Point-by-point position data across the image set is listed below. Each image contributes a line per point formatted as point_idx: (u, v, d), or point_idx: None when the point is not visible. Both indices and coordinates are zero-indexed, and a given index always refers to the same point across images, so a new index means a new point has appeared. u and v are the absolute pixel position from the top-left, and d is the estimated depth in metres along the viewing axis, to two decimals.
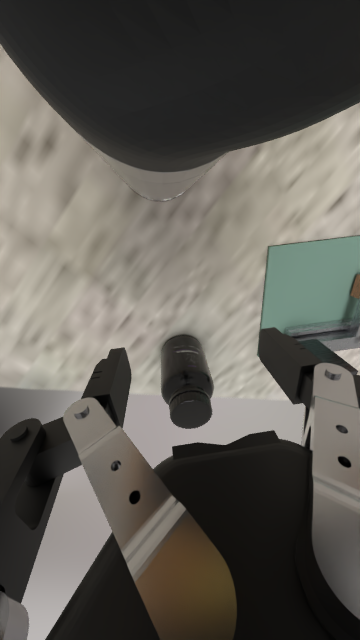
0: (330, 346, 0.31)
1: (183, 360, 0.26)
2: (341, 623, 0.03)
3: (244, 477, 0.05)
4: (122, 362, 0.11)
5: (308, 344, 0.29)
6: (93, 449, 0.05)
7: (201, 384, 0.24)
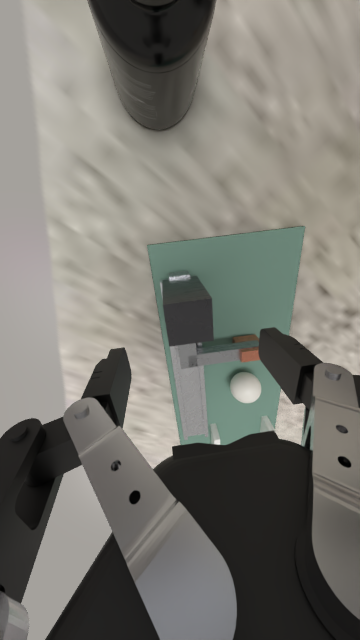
0: None
1: None
2: (341, 623, 0.03)
3: (244, 477, 0.05)
4: (122, 362, 0.11)
5: None
6: (93, 449, 0.05)
7: None
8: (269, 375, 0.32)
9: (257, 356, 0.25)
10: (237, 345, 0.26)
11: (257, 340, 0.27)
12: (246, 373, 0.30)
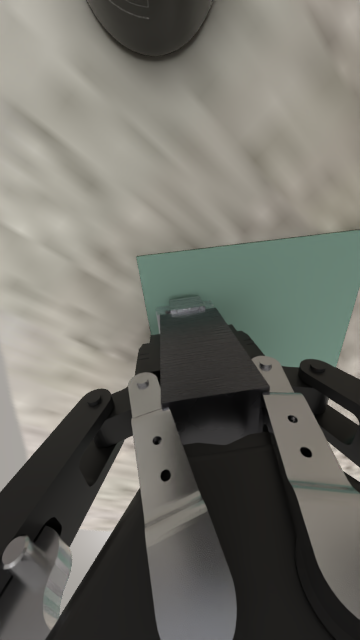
0: None
1: None
2: (341, 623, 0.03)
3: (244, 477, 0.05)
4: None
5: None
6: (143, 418, 0.06)
7: None
8: None
9: None
10: None
11: None
12: None
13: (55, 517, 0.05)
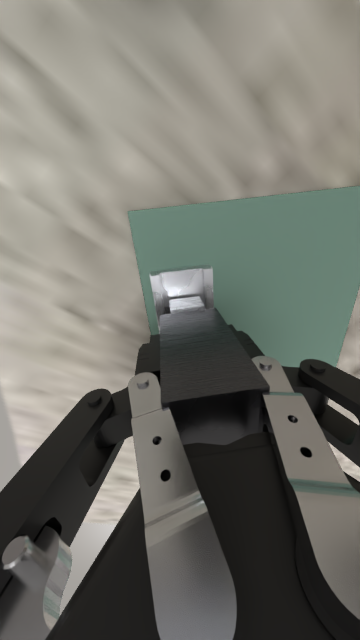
0: None
1: None
2: (341, 623, 0.03)
3: (244, 477, 0.05)
4: None
5: None
6: (143, 418, 0.06)
7: None
8: None
9: None
10: None
11: None
12: None
13: (55, 517, 0.05)
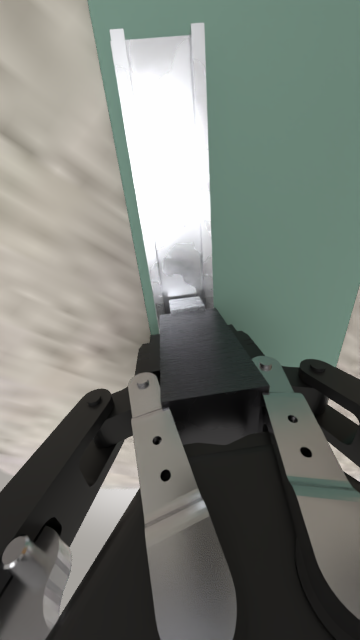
0: None
1: None
2: (341, 623, 0.03)
3: (244, 477, 0.05)
4: None
5: None
6: (143, 418, 0.06)
7: None
8: (326, 324, 0.18)
9: None
10: None
11: None
12: None
13: (55, 517, 0.05)
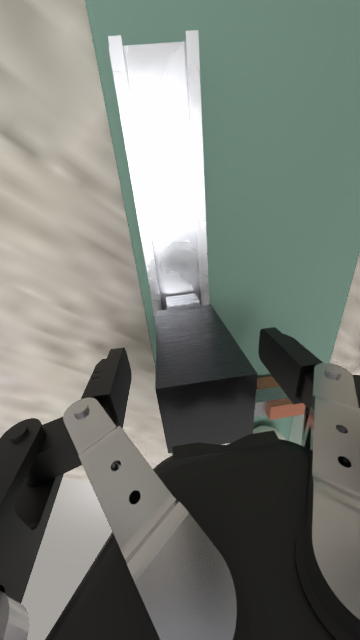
0: None
1: None
2: (341, 623, 0.03)
3: (244, 477, 0.05)
4: (122, 362, 0.11)
5: None
6: (93, 449, 0.05)
7: None
8: (319, 321, 0.19)
9: (292, 411, 0.18)
10: (262, 394, 0.19)
11: None
12: None
13: None
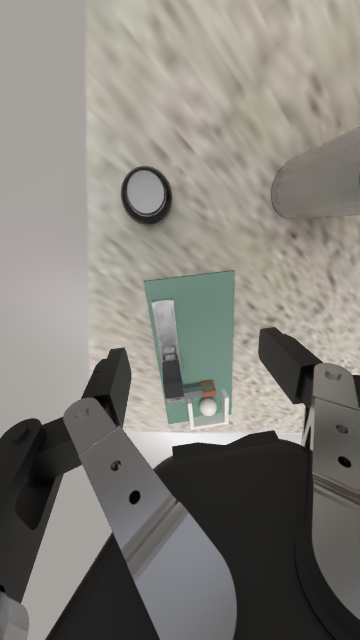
0: None
1: None
2: (341, 623, 0.03)
3: (244, 477, 0.05)
4: (122, 362, 0.11)
5: None
6: (93, 449, 0.05)
7: (162, 209, 0.27)
8: (223, 360, 0.49)
9: (211, 394, 0.48)
10: (201, 388, 0.49)
11: (212, 384, 0.50)
12: (207, 398, 0.54)
13: None
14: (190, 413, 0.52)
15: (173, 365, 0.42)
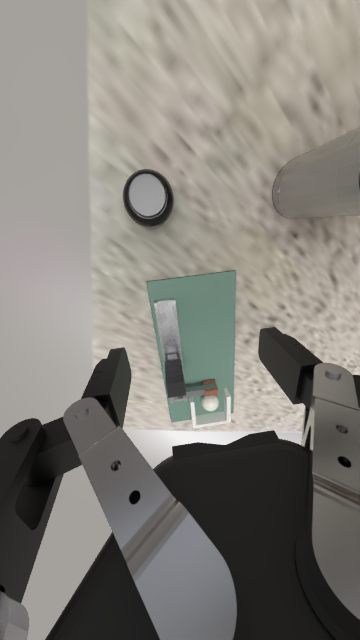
0: None
1: None
2: (341, 623, 0.03)
3: (244, 477, 0.05)
4: (122, 362, 0.11)
5: None
6: (93, 449, 0.05)
7: (163, 211, 0.27)
8: (225, 359, 0.50)
9: (213, 393, 0.49)
10: (203, 387, 0.50)
11: (214, 383, 0.50)
12: None
13: None
14: (192, 412, 0.52)
15: (175, 364, 0.43)
